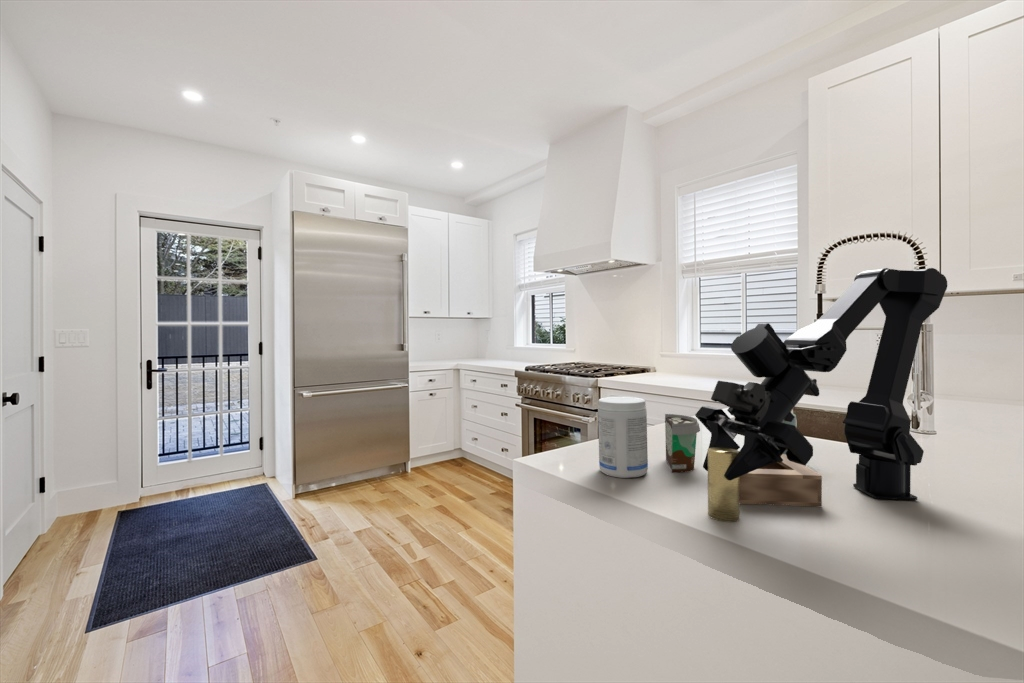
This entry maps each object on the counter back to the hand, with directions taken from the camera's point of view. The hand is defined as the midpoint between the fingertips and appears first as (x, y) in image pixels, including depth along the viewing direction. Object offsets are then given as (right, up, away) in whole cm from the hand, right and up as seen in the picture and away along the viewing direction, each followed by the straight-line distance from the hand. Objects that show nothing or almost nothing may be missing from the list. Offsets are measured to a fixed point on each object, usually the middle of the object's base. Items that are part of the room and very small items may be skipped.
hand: (715, 473), depth 70 cm
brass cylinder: (+1, -7, 0) cm, 7 cm away
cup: (+27, -6, +31) cm, 42 cm away
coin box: (+13, -6, +11) cm, 18 cm away
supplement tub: (-9, -6, +23) cm, 25 cm away
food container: (+5, -6, +26) cm, 27 cm away
